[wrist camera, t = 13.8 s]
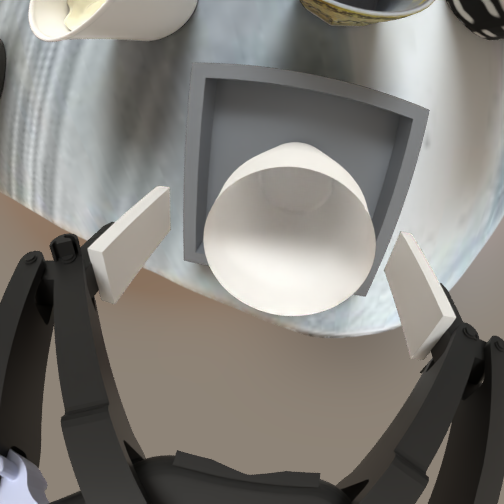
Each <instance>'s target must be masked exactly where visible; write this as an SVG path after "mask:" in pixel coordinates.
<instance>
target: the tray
mask: <svg viewBox="0 0 504 504" xmlns="http://www.w3.org/2000/svg"><path fill="white" fill-rule="evenodd" d="M428 115H429V110H428V109H426V108H424V107H421V106H419V105H416V104H414V103H411V102H408V101H406V100H403V99H400V98H397V97H395V96H392V95H389V94H386V93H383V92H380V91H377V90H373V89H370V88H367V87H363V86H360V85H356V84H352V83H349V82H345V81H341V80H337V79H332V78H328V77H323V76H319V75H314V74H308V73H303V72H297V71H291V70H285V69H278V68H270V67H262V66H252V65H240V64H224V63H192V68H191V78H190V88H189V99H188V111H187V125H186V142H185V164H184V205H183V239H184V261H189V262H193V263H198V264H203V265H207V266H209V264H208V261H207V258H206V255H205V250H204V242H203V238H204V227H205V223H206V219H207V216H208V214H209V212H210V210H211V208H212V206H213V204H214V202H215V201H216V199H217V197H218V195H219V194H220V192H221V190H222V188H223V186H224V184H225V183H226V181H227V180H228V178H229V177H230V176H231V175H232V174H233V172H234V171H235V170H237V169H238V168H239V167H240V166H241V165H243V164H244V163H245V162H247V161H248V160H250V159H251V158H253V157H255V156H257V155H259V154H261V153H263V152H266V151H268V150H270V149H272V148H275V147H277V146H279V145H282V144H285V143H290V142H301V143H306V144H309V145H311V146H313V147H315V148H317V149H318V150H320V151H321V152H323V153H324V154H326V155H327V156H328V157H330V158H331V159H333V160H334V161H335V162H337V163H338V164H339V165H340V166H342V167H343V168H344V169H345V170H346V171H347V172H348V173H349V174H350V175H351V176H352V178H353V179H354V180H355V181H356V183H357V184H358V186H359V187H360V189H361V191H362V193H363V195H364V198H365V201H366V204H367V208H368V212H369V215H370V218H371V221H372V224H373V227H374V232H375V239H376V250H375V257H374V261H373V264H372V267H371V270H370V272H369V274H368V276H367V278H366V279H365V281H364V282H363V284H362V285H361V286H360V287H359V288H358V290H357V291H356V292H355V293H354V295H359V296H366V294H367V292H368V290H369V288H370V286H371V284H372V282H373V279H374V277H375V275H376V273H377V270H378V268H379V266H380V263H381V261H382V259H383V256H384V254H385V252H386V249H387V247H388V244H389V242H390V239H391V237H392V234H393V232H394V229H395V226H396V224H397V221H398V218H399V215H400V213H401V210H402V207H403V204H404V201H405V198H406V195H407V192H408V189H409V186H410V183H411V180H412V176H413V173H414V170H415V166H416V163H417V159H418V156H419V152H420V148H421V144H422V141H423V137H424V132H425V128H426V124H427V120H428Z"/></svg>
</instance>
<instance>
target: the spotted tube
mask: <svg viewBox="0 0 504 504" xmlns="http://www.w3.org/2000/svg"><path fill="white" fill-rule="evenodd" d="M446 1H447V3H448V5H449V7H450V8H451V9H452V11H453V12H454V14H455V15H456V16H457V18H458V19H459V20H460V21H461V22H462V23H463V24H464V25H465V26H466V27H467V28H468V29H470V30H471V31H472V32H473V33H475V34H476V35H478V36H480V37H482V38H484V39H488V40H499V39H504V0H446Z"/></svg>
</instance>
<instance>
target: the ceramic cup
mask: <svg viewBox="0 0 504 504" xmlns="http://www.w3.org/2000/svg"><path fill="white" fill-rule="evenodd" d="M300 1H301V3H302V4H303V6H304V7H305V9H306V10H308V11H309V12H311V13H312V14H314V15H315V16H317V17H318V18H320V19H321V20H323V21H324V22H326V23H327V24H329V25H330V26H358V27H362V26H366V25H369V24H374V23H378V22H386V21H391V20H396V19H400V18H404V17H407V16H410V15H413V14H416V13H418V12H421V11H423V10H424V9H426V8H428V7H429V6H430V5H431V4H432V3H433V2H434V1H435V0H300Z"/></svg>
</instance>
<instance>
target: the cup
mask: <svg viewBox="0 0 504 504" xmlns="http://www.w3.org/2000/svg"><path fill="white" fill-rule="evenodd" d="M203 242H204V250H205V255H206V258H207V261H208V264H209V266H210V268H211V270H212V272H213V274H214V275H215V277H216V278H217V280H218V281H219V282H220V284H221V285H222V286H223V287H224V288H225V289H226V290H227V291H228V292H229V293H230V294H232V295H233V296H234V297H235V298H237V299H238V300H240V301H241V302H243V303H245V304H247V305H249V306H250V307H253V308H255V309H257V310H260V311H263V312H267V313H271V314H276V315H283V316H303V315H310V314H315V313H319V312H322V311H325V310H328V309H330V308H333V307H335V306H337V305H338V304H340V303H342V302H343V301H345V300H346V299H348V298H349V297H350V296H351V295H353V294H354V293H355V292H356V291H357V290H358V288H359V287H360V286H361V285H362V284H363V282H364V281H365V279H366V278H367V276H368V274H369V272H370V270H371V267H372V264H373V261H374V257H375V250H376V239H375V232H374V227H373V224H372V221H371V218H370V215H369V212H368V208H367V204H366V201H365V198H364V195H363V193H362V191H361V189H360V187H359V186H358V184H357V183H356V181H355V180H354V179H353V178H352V176H351V175H350V174H349V173H348V172H347V171H346V170H345V169H344V168H343V167H342V166H340V165H339V164H338V163H337V162H335V161H334V160H333V159H331V158H330V157H328V156H327V155H326V154H324V153H323V152H321V151H320V150H318V149H317V148H315V147H313V146H311V145H309V144H306V143H301V142H290V143H285V144H282V145H279V146H277V147H275V148H272V149H270V150H268V151H266V152H263V153H261V154H259V155H257V156H255V157H253V158H251V159H250V160H248V161H247V162H245V163H244V164H243V165H241V166H240V167H239V168H238V169H237V170H235V171H234V172H233V174H232V175H231V176H230V177H229V178H228V180H227V181H226V183H225V184H224V186H223V188H222V190H221V192H220V194H219V195H218V197H217V199H216V201H215V202H214V204H213V206H212V208H211V210H210V212H209V214H208V216H207V219H206V223H205V227H204V238H203Z"/></svg>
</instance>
